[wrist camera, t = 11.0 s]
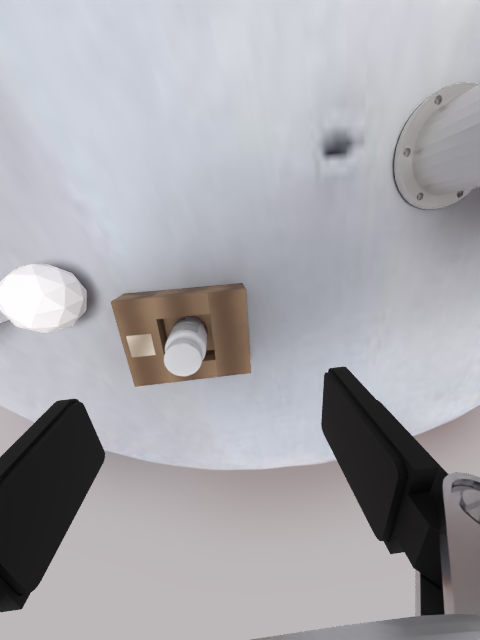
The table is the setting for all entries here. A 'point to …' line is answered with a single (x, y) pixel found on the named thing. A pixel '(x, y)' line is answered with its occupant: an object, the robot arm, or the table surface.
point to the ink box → (3, 317)
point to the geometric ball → (42, 298)
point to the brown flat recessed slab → (159, 319)
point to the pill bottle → (186, 346)
